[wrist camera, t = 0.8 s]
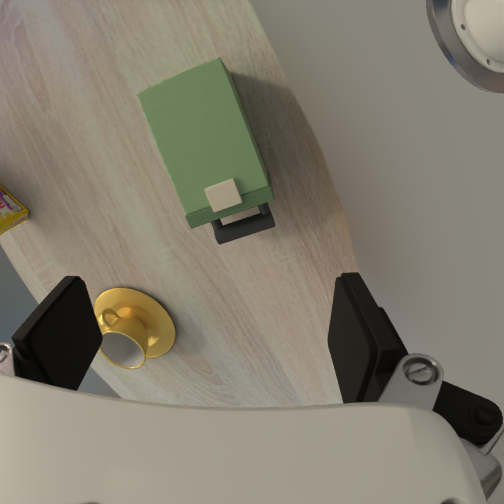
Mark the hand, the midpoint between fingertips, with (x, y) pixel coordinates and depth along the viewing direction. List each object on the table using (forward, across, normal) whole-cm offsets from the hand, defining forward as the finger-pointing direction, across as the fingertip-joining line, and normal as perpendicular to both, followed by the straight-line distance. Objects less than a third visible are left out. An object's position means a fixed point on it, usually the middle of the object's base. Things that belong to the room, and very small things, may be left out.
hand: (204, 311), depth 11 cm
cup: (+22, +15, +18) cm, 32 cm away
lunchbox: (+18, +4, -10) cm, 21 cm away
